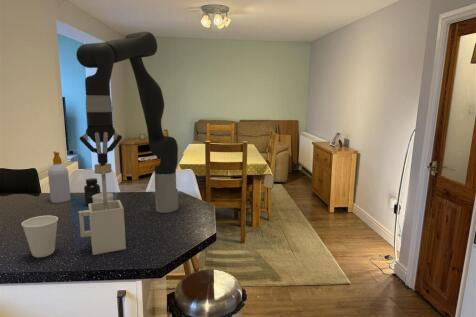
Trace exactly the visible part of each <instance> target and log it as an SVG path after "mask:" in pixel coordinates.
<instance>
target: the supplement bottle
mask: <svg viewBox="0 0 476 317" xmlns="http://www.w3.org/2000/svg"><path fill="white" fill-rule="evenodd" d="M83 189H84V191H83V192H84V204H85V206H87V207H89V206H88V204H90V203H93V199H92V196H93V195H95V194H99V193H101V186H100V184H98V179H97V178H95V177H94V178H93V177H90V178H87V179H85V185H84V187H83Z"/></svg>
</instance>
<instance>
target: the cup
mask: <svg viewBox="0 0 476 317" xmlns="http://www.w3.org/2000/svg"><path fill="white" fill-rule="evenodd" d="M58 221H59V217H58V216H55V215H49V214H48V215H39V216H35V217H34V216H33V217H30V218H28V219H25V220H23V221H22V222H21V226H22V228H23V231H24V234H25V237H26V240H27V244H28V246H29V249H30V252H31V256H33V257H35V258H46V257H48V256H51V255H52V254H53V253H55V248H56V240H57V239H56V238H57V230H58V229H57V228H58Z"/></svg>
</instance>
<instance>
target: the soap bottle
mask: <svg viewBox="0 0 476 317" xmlns="http://www.w3.org/2000/svg"><path fill="white" fill-rule="evenodd" d="M53 155H54V156H53V158H52V163H53V164H52V165H51V166H50V167H49V168H48V172H47V175H48V176H47V178H48V185H49V187H48V188H49V196H50V202H51V203H53V204H61V203H66V202H69V201H70V200H71V188H70V179H69V178H70V177H69V174H70V173H69V170H68V168H67V167H66V165H65V164H63V163H62V157H61V156H60V152H59V151H55V150H54V151H53Z"/></svg>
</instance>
